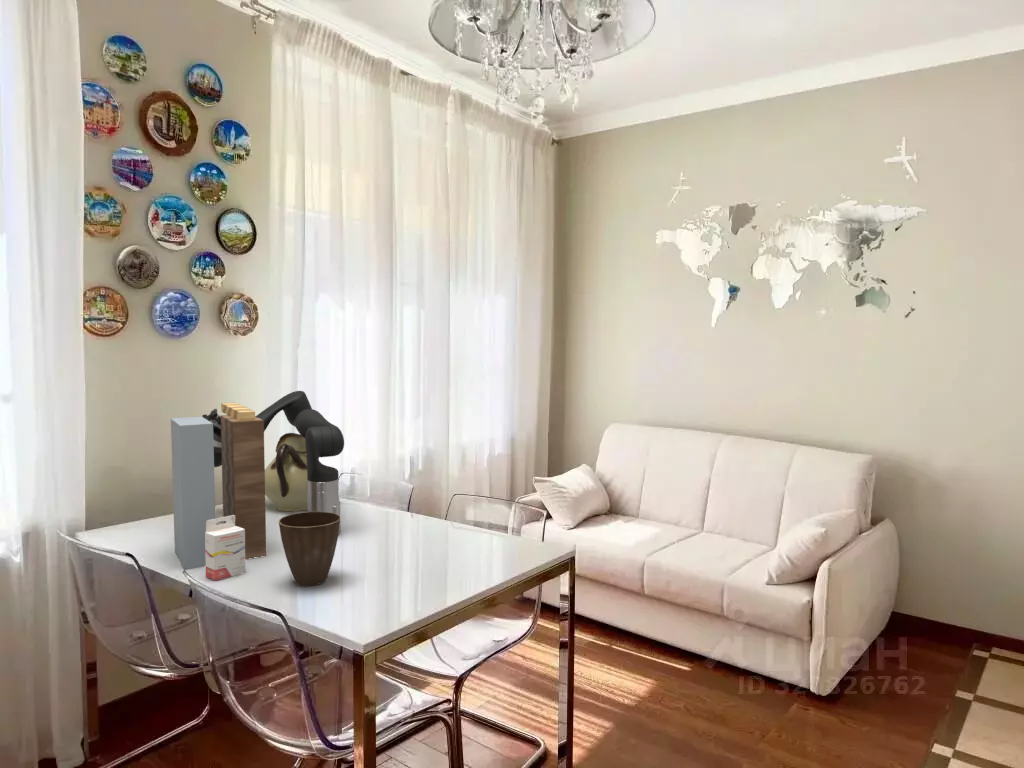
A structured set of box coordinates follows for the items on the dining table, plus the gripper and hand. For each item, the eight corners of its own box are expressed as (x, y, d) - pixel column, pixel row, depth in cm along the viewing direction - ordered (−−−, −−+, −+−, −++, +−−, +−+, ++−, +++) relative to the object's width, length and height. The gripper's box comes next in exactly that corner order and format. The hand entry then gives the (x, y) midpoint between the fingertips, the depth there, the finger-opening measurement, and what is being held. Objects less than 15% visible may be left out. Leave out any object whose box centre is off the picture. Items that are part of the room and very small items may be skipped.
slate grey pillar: (174, 552, 205) (170, 418, 202) (205, 548, 209) (201, 416, 206) (184, 569, 192) (180, 425, 188) (216, 564, 196) (212, 423, 193)
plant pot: (268, 580, 184) (267, 518, 183) (321, 567, 195) (320, 508, 193) (298, 596, 174) (297, 530, 172) (352, 581, 184) (352, 519, 183)
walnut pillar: (223, 545, 212) (220, 415, 209) (252, 541, 216) (249, 413, 213) (236, 561, 199) (233, 422, 195) (266, 556, 203) (263, 420, 200)
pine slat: (221, 411, 217) (221, 403, 217) (235, 410, 220) (235, 402, 219) (239, 421, 197) (239, 412, 197) (255, 420, 199) (255, 411, 199)
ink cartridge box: (215, 581, 183) (213, 524, 182) (205, 577, 186) (203, 520, 185) (246, 572, 190) (245, 517, 188) (236, 568, 193) (235, 513, 192)
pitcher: (312, 495, 272) (311, 429, 269) (341, 509, 253) (339, 438, 251) (252, 505, 258) (250, 435, 255) (277, 520, 240) (275, 445, 237)
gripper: (196, 422, 225) (204, 400, 213) (244, 419, 233) (254, 398, 220) (198, 444, 223) (207, 424, 210) (247, 441, 230) (258, 420, 218)
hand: (231, 410), depth 215 cm, fingers open, 8 cm apart
